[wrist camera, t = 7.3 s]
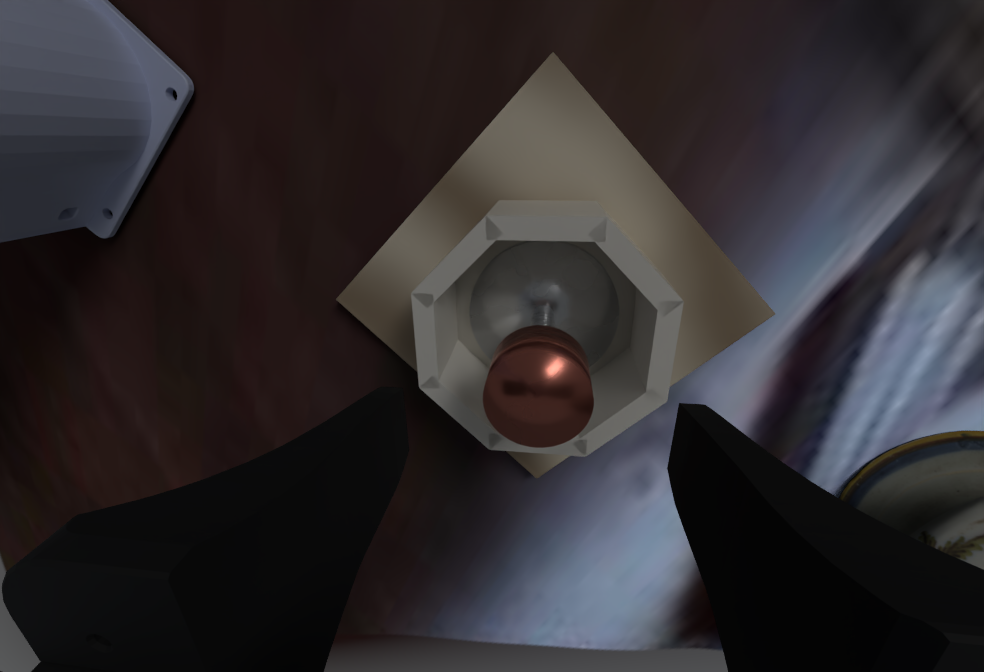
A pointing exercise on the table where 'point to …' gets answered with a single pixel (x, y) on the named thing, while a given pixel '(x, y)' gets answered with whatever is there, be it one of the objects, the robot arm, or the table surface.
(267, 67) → the table surface
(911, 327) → the table surface
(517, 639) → the table surface
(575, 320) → the plunger
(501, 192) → the board
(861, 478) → the apothecary jar
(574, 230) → the press carafe
